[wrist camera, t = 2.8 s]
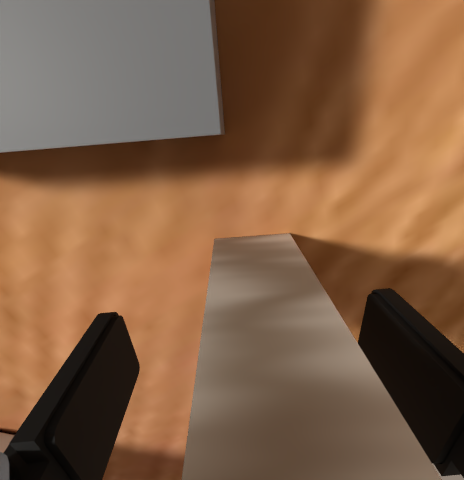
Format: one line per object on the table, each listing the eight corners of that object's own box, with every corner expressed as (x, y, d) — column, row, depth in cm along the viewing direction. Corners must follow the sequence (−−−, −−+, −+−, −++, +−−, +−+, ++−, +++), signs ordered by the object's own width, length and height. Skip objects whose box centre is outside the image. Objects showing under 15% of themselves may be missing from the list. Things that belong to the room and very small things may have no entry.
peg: (289, 233, 12) (559, 669, 2) (287, 294, 14) (439, 704, 4) (214, 239, 12) (153, 686, 2) (221, 299, 14) (203, 713, 4)
